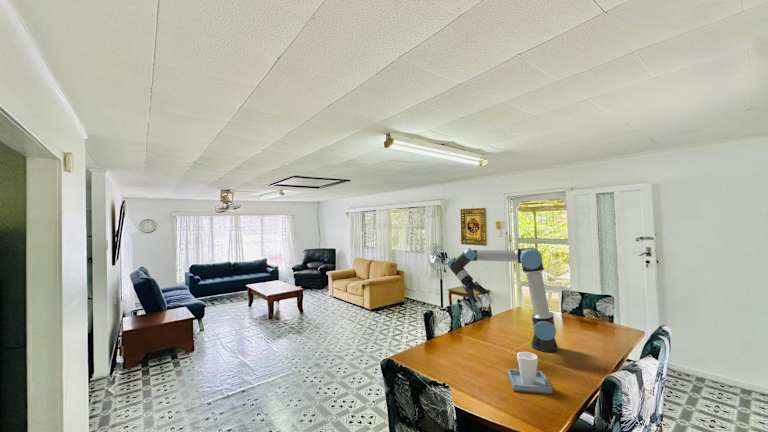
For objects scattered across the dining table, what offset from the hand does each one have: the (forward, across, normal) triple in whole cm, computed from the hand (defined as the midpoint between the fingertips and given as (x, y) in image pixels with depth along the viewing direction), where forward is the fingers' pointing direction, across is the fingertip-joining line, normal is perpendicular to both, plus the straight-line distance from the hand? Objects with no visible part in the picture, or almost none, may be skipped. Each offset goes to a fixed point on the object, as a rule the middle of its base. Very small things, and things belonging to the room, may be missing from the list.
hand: (486, 304), depth 194 cm
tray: (+44, +21, +2) cm, 49 cm away
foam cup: (+44, +21, +3) cm, 49 cm away
